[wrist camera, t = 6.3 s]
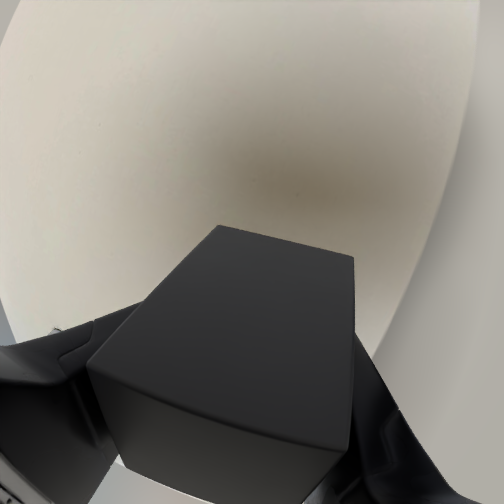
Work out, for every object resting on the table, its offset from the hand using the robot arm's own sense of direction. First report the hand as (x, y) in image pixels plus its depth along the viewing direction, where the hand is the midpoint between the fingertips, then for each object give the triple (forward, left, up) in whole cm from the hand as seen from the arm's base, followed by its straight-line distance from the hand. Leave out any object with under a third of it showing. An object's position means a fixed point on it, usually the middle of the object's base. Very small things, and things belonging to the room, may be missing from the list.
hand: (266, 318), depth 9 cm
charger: (0, 0, -1) cm, 1 cm away
